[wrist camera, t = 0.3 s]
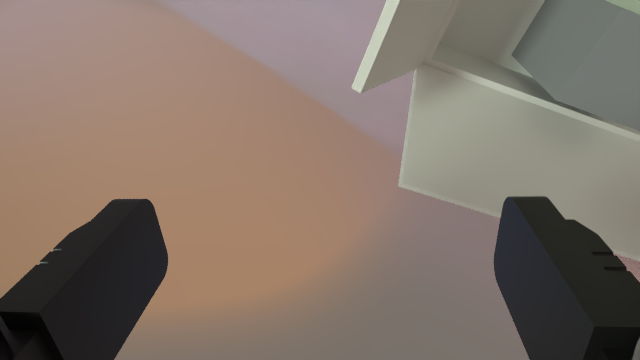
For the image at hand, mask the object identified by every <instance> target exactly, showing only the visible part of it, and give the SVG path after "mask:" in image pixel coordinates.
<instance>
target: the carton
mask: <svg viewBox="0 0 640 360" xmlns="http://www.w3.org/2000/svg"><path fill="white" fill-rule="evenodd" d="M544 1H545V0H387V1H386V4H385V6H384V9H383V11H382V14H381V16H380V19H379V21H378V23H377V26H376V28H375V31H374V33H373V36H372V38H371V41H370V43H369V46H368V48H367V51H366V53H365V55H364V58H363V60H362V63H361V65H360V68H359V70H358V73H357V75H356V78H355V80H354V83H353V85H352V89H354V90H356V91H358V92H359V93H362V92H365V91H367V90H369V89H371V88H374V87H376V86H378V85H381V84H383V83H385V82H387V81H390V80H392V79H394V78H397V77H399V76H401V75H403V74H406V73H408V72H410V71H413V70H415V71H414V78H413V85H412V92H411V99H410V106H409V114H408V121H407V128H406V135H405V142H404V149H403V156H402V163H401V170H400V177H399V184H398V186H399V187H402V188H405V189H409V190H412V191H415V192H418V193H421V194H425V195H428V196H431V197H434V198H438V199H441V200H444V201H447V202H450V203H453V204H457V205H460V206H463V207H466V208H469V209H473V210H476V211H479V212H482V213H485V214H489V215H492V216H495V217H498V218H501V213H502V207H503V203H504V201H505V199H506V198H507V197H512V196H545V197H547V198H549V199H550V201H551V202H552V203H553V204H554V206H555V207H556V208H557V210H558V211H559V212H560V213H561V215H562V216H563V217H564V218H565V219H574V220H576V221H578V222H579V223H581V224H582V225H584V226H586V227H587V228H589V229H590V230H592V231H593V232H595V233H597V234H598V235H599V236H600V237H601V238H602V240H603V241H604V242H605V243H606V244H607V245H608V247H609V248H610V249H611V250H612V251H613V253H614V254H617V255H620V256H623V257H627V258H630V259H633V260H636V261H639V262H640V131H638V130H635V129H633V128H630V127H627V126H624V125H622V124H619V123H616V122H614V121H611V120H608V119H605V118H603V117H600V116H597V115H594V114H592V113H589V112H586V111H583V110H581V109H578V108H575V107H573V106H570V105H567V104H564V103H562V102H559V101H556V100H554V99H553V97H552V96H551V95H550V94H549V93H548V92H547V91H546V90H545V89H544V88H543V87H542V86H541V85H540V84H539V83H538V82H537V81H536V80H535V79H534V78H533V77H532V76H531V75H530V74H529V73H528V72H527V71H526V70H525V69H524V68H523V67H522V65H521V64H520V63H519V62H518V61H517V60H516V59H515V58H514V57H513V56H512V55H511V54H512V53H513V51H514V50H515V48H516V46H517V45H518V43H519V42H520V40H521V38H522V37H523V35H524V33H525V32H526V30H527V29H528V27H529V25H530V24H531V22H532V21H533V19H534V17H535V16H536V14H537V13H538V11H539V9H540V8H541V6H542V5H543V3H544Z"/></svg>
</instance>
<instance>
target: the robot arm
mask: <svg viewBox="0 0 640 360" xmlns="http://www.w3.org/2000/svg"><path fill="white" fill-rule="evenodd" d="M167 266H168V254H167V250H166V246H165V243H164V239H163V236H162V232H161V229H160V226H159V222H158V219H157V215H156V212H155V209H154V206H153V204H152V203H151V202H150V201H149V200H148V199H115V200H112V201H111V202H110V203H109V204H108V205H107V206H106V207H105V208H104V209H103V210H101V212H99V213H98V214H97V215H96V216H95V217H94V219H92V220H91V221H89V222H88V223H86V224H85V225H83V226H81V227H79V228H78V229H76V230H74V231H73V232H71V233H69V234H68V235H67V236H66V237H65V238H64V239H63V240H62V241H61V242H60V243H59V244H58V245H57V246H56V247H55V248H54V251H53V252H49V253H48V254H47V255H46V256H45V257H44V258H43V259H42V260H41V261H40V264H39V265H36V266H34V267H33V269H31V270H30V271H29V272H28V273H27V274H26V275H25V276H24V277H23V278H22V279H21V280H20V281H19V282H18V283H16V285H14V286H13V287H12V288H11V289H10V290H9V291H8V292H7V293H6V294H5V295H4V296H3V297H2V298H1V299H0V360H114V359H115V357H116V355H117V354H118V352H119V350H120V349H121V347H122V346H123V344H124V342H125V340H126V339H127V337H128V336H129V334H130V332H131V331H132V329H133V328H134V326H135V324H136V323H137V321H138V319H139V318H140V316H141V315H142V313H143V311H144V310H145V308H146V306H147V305H148V303H149V302H150V300H151V298H152V296H153V295H154V293H155V291H156V290H157V289H158V287H159V285H160V284H161V282H162V280H163V279H164V277H165V274H166V271H167ZM494 270H495V276H496V280H497V283H498V286H499V288H500V291H501V293H502V295H503V297H504V300H505V302H506V305H507V307H508V309H509V312H510V314H511V316H512V319H513V321H514V323H515V326H516V328H517V331H518V333H519V335H520V338H521V340H522V342H523V345H524V347H525V349H526V352H527V354H528V356H529V359H530V360H640V282H639V281H638V280H637V279H636V278H635V277H634V275H633V274H632V273H631V272H630V271H627V270H626V266H625V265H624V264H623V263H622V262H621V260H620V259H619V258H618V257H617V256H614V255H613V251H612V250H611V249H610V248H609V247H608V245H607V244H606V243H605V242H604V241H603V240H602V238H601V237H600V236H599V235H598V234H597V233H595V232H593V231H592V230H590V229H589V228H587V227H586V226H584V225H582V224H581V223H579V222H578V221H576V220H574V219H565V218H564V217H563V216H562V215H561V213H560V212H559V211H558V210H557V208H556V207H555V206H554V204H553V203H552V202H551V201H550V199H549V198H547V197H545V196H512V197H507V198H506V199H505V201H504V203H503V207H502V213H501V219H500V224H499V231H498V236H497V243H496V248H495V253H494Z"/></svg>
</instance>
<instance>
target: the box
mask: <svg viewBox="0 0 640 360" xmlns="http://www.w3.org/2000/svg"><path fill="white" fill-rule="evenodd" d="M511 55H512V56H513V57H514V58H515V59H516V60H517V61H518V62H519V63H520V64H521V65H522V67H523V68H524V69H525V70H526V71H527V72H528V73H529V74H530V75H531V76H532V77H533V78H534V79H535V80H536V81H537V82H538V83H539V84H540V85H541V86H542V87H543V88H544V89H545V90H546V91H547V92H548V93H549V94H550V95H551V96H552V97H553V99H554V100H556V101H559V102H562V103H564V104H567V105H570V106H573V107H575V108H578V109H581V110H583V111H586V112H589V113H592V114H594V115H597V116H600V117H603V118H605V119H608V120H611V121H614V122H616V123H619V124H622V125H624V126H627V127H630V128H633V129H635V130H638V131H640V0H545V1H544V3H543V5H542V6H541V8H540V9H539V11H538V13H537V14H536V16H535V17H534V19H533V21H532V22H531V24H530V25H529V27H528V29H527V30H526V32H525V33H524V35H523V37H522V38H521V40H520V42H519V43H518V45H517V46H516V48H515V50H514V51H513V53H512V54H511Z"/></svg>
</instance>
